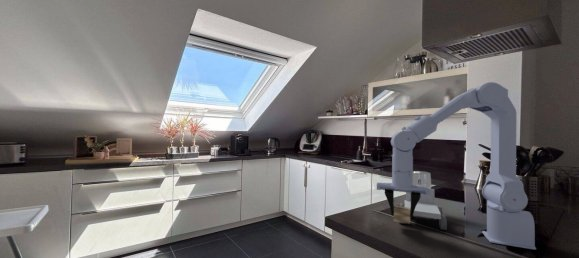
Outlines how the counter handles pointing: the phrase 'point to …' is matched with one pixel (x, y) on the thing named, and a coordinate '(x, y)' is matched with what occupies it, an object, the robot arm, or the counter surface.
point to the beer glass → (422, 179)
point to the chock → (402, 214)
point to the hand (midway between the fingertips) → (401, 215)
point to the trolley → (427, 208)
